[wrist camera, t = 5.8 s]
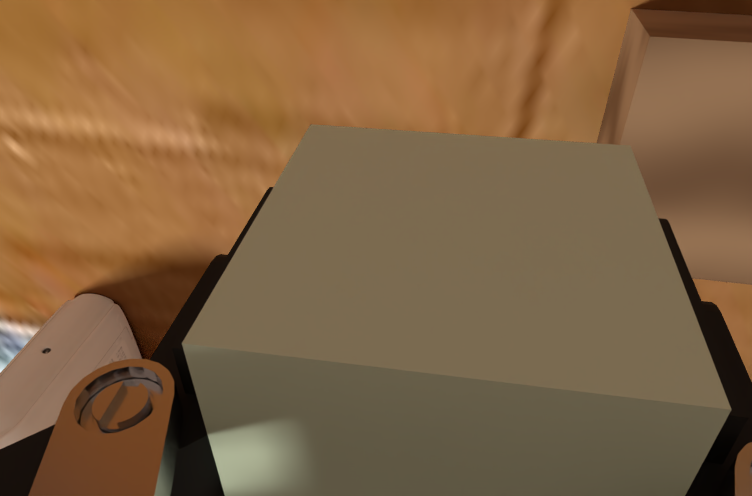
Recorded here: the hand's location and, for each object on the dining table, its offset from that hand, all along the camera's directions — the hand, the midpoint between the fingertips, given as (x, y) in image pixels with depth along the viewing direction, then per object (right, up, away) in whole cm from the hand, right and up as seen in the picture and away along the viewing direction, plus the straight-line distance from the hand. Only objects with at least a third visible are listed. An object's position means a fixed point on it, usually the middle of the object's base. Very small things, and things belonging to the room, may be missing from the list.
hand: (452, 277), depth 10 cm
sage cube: (0, 0, 0) cm, 1 cm away
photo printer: (-19, -6, +31) cm, 37 cm away
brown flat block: (+14, +5, +16) cm, 21 cm away
